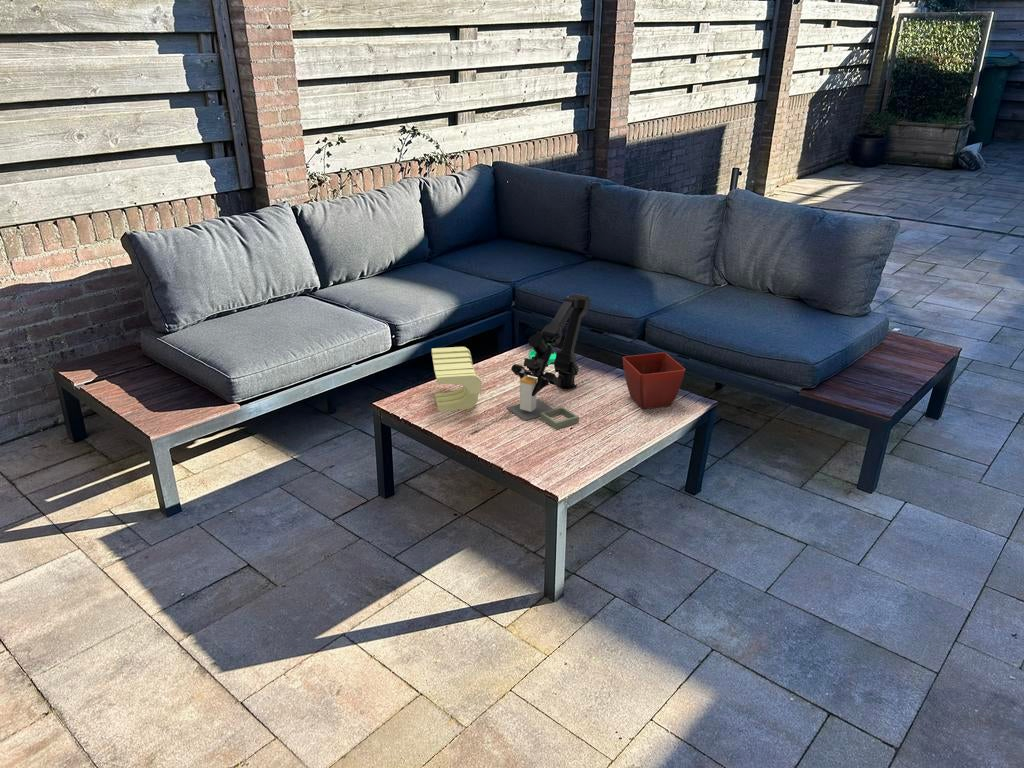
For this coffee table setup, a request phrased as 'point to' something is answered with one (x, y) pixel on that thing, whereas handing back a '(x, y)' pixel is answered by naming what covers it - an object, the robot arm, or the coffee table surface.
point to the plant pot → (653, 379)
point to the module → (527, 393)
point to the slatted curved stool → (456, 378)
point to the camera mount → (551, 359)
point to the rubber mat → (533, 414)
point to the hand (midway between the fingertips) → (526, 394)
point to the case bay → (563, 423)
